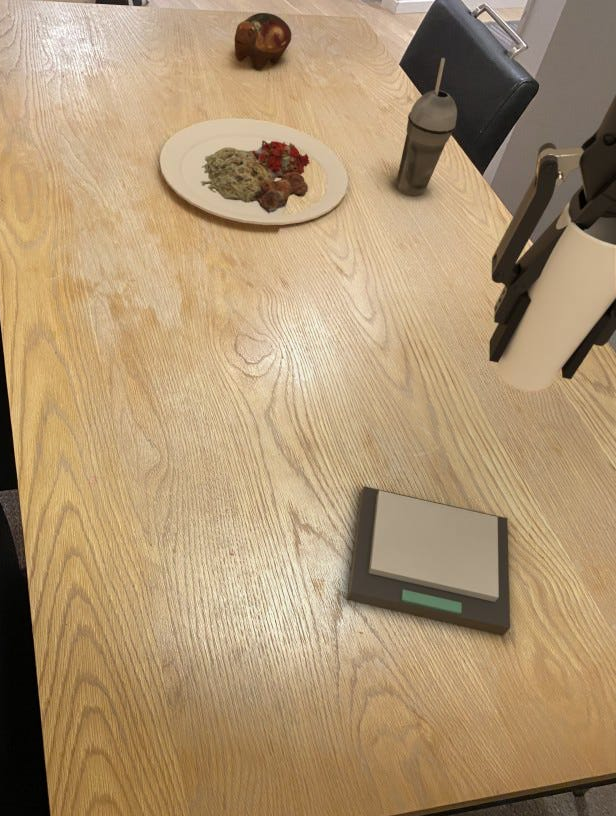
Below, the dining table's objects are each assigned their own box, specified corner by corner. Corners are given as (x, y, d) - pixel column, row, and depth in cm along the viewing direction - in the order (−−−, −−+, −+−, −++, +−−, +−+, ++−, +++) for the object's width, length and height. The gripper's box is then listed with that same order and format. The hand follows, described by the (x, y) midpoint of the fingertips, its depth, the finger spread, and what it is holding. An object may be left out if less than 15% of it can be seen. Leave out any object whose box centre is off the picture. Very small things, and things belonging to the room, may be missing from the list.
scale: (498, 531, 85) (511, 512, 82) (500, 639, 77) (514, 623, 74) (358, 499, 86) (366, 480, 83) (345, 604, 78) (353, 586, 75)
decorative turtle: (215, 64, 143) (220, 15, 137) (260, 47, 151) (266, -1, 145) (257, 80, 140) (264, 30, 133) (301, 62, 148) (309, 14, 142)
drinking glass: (505, 406, 65) (596, 252, 53) (470, 352, 69) (547, 196, 56) (572, 396, 67) (675, 245, 54) (534, 344, 70) (623, 191, 58)
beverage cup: (430, 209, 121) (478, 76, 105) (385, 201, 121) (426, 66, 105) (430, 185, 125) (476, 53, 109) (386, 177, 126) (426, 44, 109)
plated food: (130, 200, 115) (130, 179, 112) (196, 112, 132) (197, 92, 129) (320, 255, 111) (325, 234, 109) (362, 158, 128) (368, 138, 126)
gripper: (548, 69, 45) (421, 363, 64) (862, 136, 45) (640, 414, 63) (544, 20, 50) (426, 309, 69) (830, 80, 49) (631, 356, 68)
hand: (529, 359), depth 66 cm, fingers closed on drinking glass, 6 cm apart
